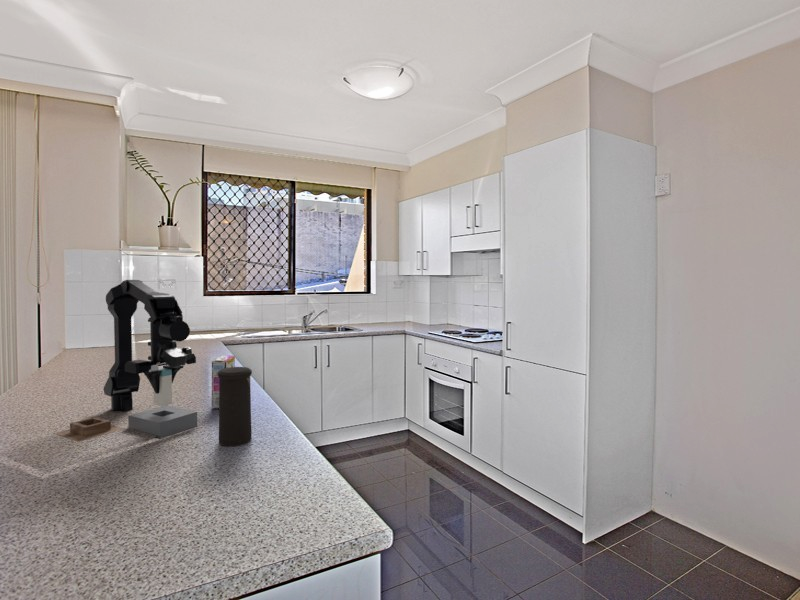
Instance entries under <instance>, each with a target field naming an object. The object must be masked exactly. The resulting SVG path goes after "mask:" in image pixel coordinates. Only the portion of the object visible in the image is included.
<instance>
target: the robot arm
mask: <svg viewBox="0 0 800 600" xmlns="http://www.w3.org/2000/svg"><path fill="white" fill-rule="evenodd" d="M105 302H106V304H107V310H108V311H109V313H110V314H111V316H113V329H114V331H113V332H114V333H113V334H114V364H113V365H112V366H111V368H110V369H109V371H108V378H107V380H106V381H105V384H104V387H103V393H104V396H108V397H110V408H111V412H116V413H117V412H122V413H123V412H124V413H125V412H129V411H132V410H133V407H134V406H133V405H134V404H133V393H137V392H139V389H140V382H141V377H140V374H144V376H145V377H146V378H147V380H148V382H149V383H150V385H151V387H152V389H153V392H154V391H155V393H157V394H158V393H159V389H160V385H159V375H160V373H161V372H162V371H161V370H158V369H159V367H162V368H165V369H171V370H172V384H173V383H174V380H175V377H176V376H177V373H178V372H179V371H180V370H181V369H183V368H184V367H185V365H192V364H193V365H194V364H196V363H197V357H196V355H195V353H192V352H193V351H192V348H191V347H190V346H185V347H182V348H178V346H177V342H179V343H181V342H183V341H185V340H186V339H188V338H189V336H190V332H191V328H190V326H189V324H188V323H187V322H186V321H184V319H183V317H184V316H183V311H182V309H181V307H180V305H179V303H178V300H177V299H176V297H175V296H174V295H173V294H171V293H167V292H165V293H164V292H158V291H156V290H154V288H152V287H150V286H148V285H147V284H145V283H143V281H142V280H141V279H125V280H122V282H120V284H117V285H116V286H113V287H112V288H110V289H109V291H108V292H107V293H106V295H105ZM139 302H140V303H142V304H143V306H144V308H143V309H144V310H145V312H146V313H147V314H148V315H149V317H148V319H147V322H148V323H150V324H149V325H150V341H148V342H147V346H149V347H150V355H149V356H147V359H148V360H145V359H135V360H133V340H132V339H133V338H132V337H133V336H132V335H133V334H132V332H133V331H132V317H133V316H134V314H135V313H136V311H137V310H138V303H139Z"/></svg>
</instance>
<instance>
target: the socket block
mask: <svg viewBox="0 0 800 600" xmlns="http://www.w3.org/2000/svg"><path fill="white" fill-rule="evenodd" d="M127 419H128V428H129V429H133V430H136V431H140V432H144V433H148V434H151V435H155V436H154V439H157V440H161V439H164V438H168V437H171V436H173V435H177V434H180V433H184V432H186V431H189V430H192V429H195V428H198V411H196V410H191V409H186V408H181V407H176V406H172V405H165V406H158V407H155V408H151V409H147V410H143V411H139V412H135V413H132V414H128V415H127Z"/></svg>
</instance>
